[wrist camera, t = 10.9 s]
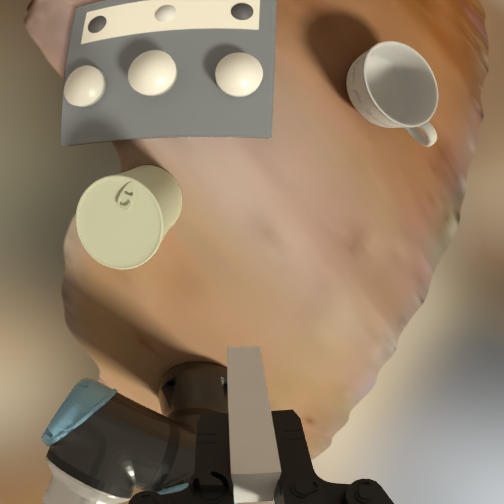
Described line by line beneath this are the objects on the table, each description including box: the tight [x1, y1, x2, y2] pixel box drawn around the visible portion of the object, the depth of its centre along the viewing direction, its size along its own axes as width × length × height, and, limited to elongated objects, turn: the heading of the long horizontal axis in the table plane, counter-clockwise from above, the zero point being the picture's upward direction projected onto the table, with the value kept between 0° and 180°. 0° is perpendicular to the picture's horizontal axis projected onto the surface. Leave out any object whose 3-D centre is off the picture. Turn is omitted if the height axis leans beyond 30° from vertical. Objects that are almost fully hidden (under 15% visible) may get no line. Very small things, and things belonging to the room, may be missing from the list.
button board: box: [61, 0, 277, 146], centre depth 29 cm, size 20×26×3 cm
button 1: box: [215, 52, 263, 98], centre depth 28 cm, size 5×5×2 cm
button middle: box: [128, 50, 178, 97], centre depth 26 cm, size 5×5×2 cm
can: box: [76, 165, 182, 269], centre depth 31 cm, size 9×9×12 cm
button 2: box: [64, 65, 107, 107], centre depth 27 cm, size 5×5×2 cm
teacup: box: [346, 41, 438, 147], centre depth 30 cm, size 14×11×8 cm
